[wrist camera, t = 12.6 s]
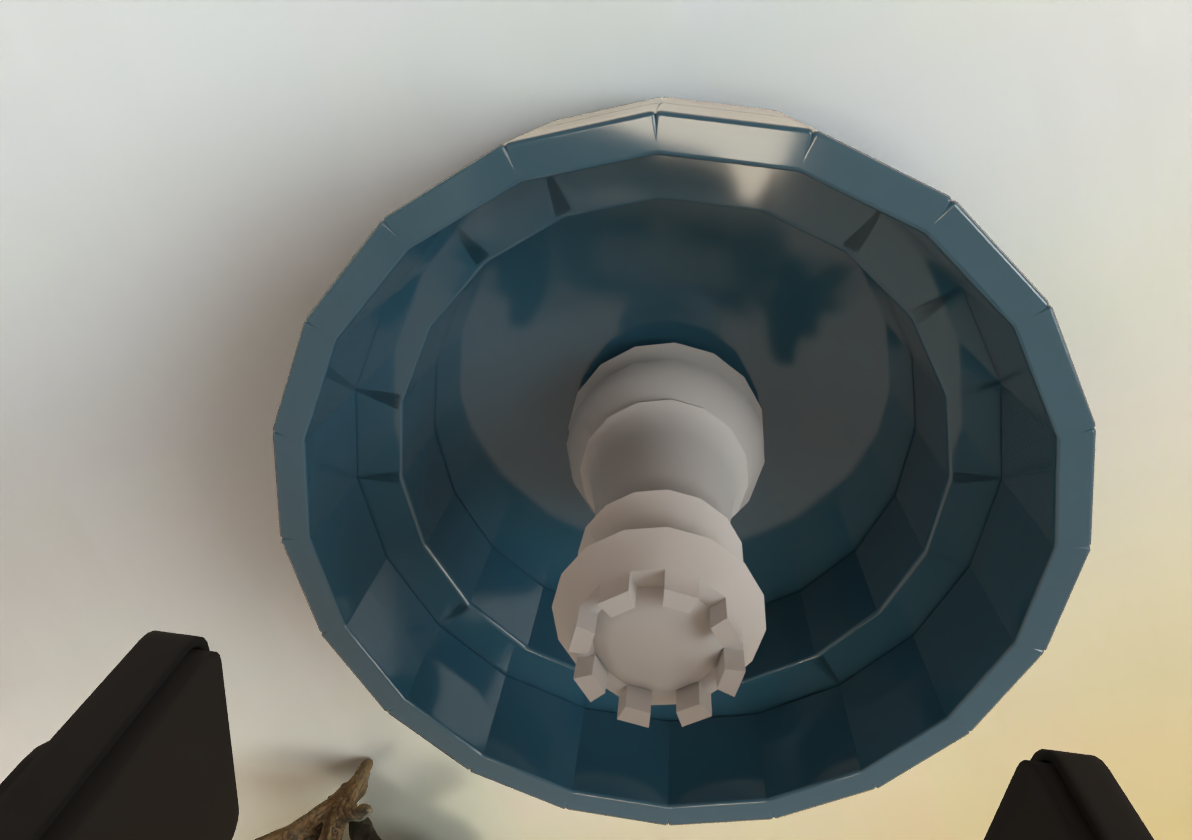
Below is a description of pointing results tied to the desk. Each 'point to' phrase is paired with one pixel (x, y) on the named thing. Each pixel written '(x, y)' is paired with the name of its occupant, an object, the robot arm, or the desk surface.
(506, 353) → the bowl
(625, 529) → the rook chess piece
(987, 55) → the desk surface
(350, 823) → the eagle figurine
